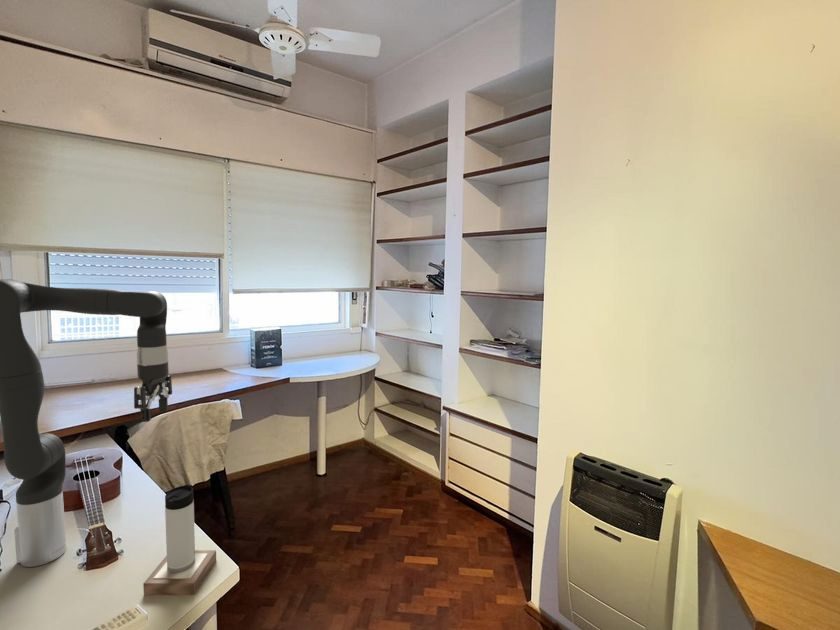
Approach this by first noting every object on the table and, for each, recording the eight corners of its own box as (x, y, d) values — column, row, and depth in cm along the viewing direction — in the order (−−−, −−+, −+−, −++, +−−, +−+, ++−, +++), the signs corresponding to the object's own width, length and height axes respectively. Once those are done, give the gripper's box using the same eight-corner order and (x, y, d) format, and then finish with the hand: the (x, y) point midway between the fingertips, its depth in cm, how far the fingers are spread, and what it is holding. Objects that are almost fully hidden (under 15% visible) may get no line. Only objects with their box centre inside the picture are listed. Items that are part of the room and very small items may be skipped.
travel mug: (201, 558, 109) (200, 485, 107) (181, 575, 103) (179, 499, 101) (182, 553, 111) (180, 482, 109) (161, 570, 105) (158, 494, 103)
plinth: (143, 594, 101) (143, 582, 101) (171, 560, 113) (170, 549, 112) (194, 594, 101) (193, 582, 101) (216, 560, 113) (216, 549, 113)
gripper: (154, 356, 126) (156, 408, 128) (122, 366, 112) (125, 424, 113) (179, 356, 126) (181, 408, 128) (151, 367, 112) (153, 425, 114)
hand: (154, 416), depth 121 cm, fingers open, 8 cm apart
